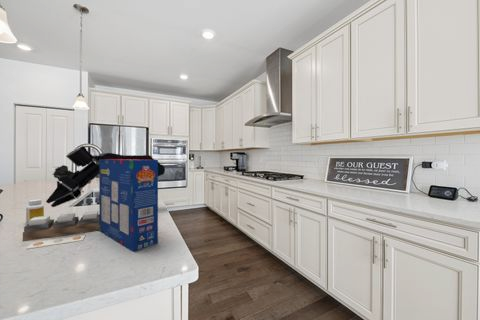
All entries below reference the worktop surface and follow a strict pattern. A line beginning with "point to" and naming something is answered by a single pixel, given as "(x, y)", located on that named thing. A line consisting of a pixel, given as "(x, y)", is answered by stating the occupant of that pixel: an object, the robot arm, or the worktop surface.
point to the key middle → (66, 217)
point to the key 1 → (39, 220)
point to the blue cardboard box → (129, 202)
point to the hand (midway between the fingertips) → (49, 204)
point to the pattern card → (56, 242)
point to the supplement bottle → (34, 209)
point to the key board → (60, 228)
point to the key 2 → (90, 215)
